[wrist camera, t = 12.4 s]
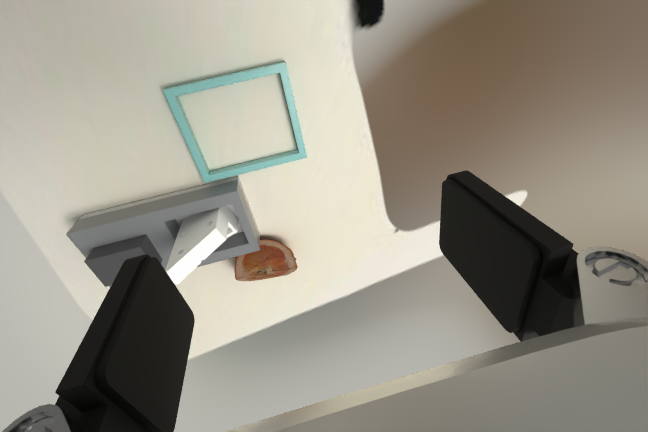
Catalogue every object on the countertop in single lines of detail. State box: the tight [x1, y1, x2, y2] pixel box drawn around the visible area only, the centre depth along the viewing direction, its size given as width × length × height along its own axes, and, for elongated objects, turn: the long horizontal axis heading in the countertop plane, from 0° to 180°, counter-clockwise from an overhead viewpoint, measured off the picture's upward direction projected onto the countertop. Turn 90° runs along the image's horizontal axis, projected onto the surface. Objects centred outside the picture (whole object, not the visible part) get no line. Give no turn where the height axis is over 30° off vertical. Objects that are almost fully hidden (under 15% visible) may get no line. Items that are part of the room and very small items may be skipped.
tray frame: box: [163, 61, 307, 183], centre depth 34 cm, size 11×13×1 cm
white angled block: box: [165, 206, 238, 285], centre depth 36 cm, size 4×10×9 cm
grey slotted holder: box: [66, 176, 260, 287], centre depth 37 cm, size 9×19×6 cm, turn 100°
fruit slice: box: [235, 239, 297, 281], centre depth 43 cm, size 8×7×5 cm
